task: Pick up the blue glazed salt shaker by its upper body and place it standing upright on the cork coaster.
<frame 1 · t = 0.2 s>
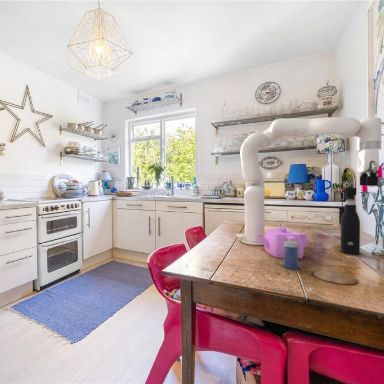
hand: (368, 185, 104), 31 cm above the table, tool pointing down, fingers open, 9 cm apart
black water bottle: (349, 253, 108), on the table
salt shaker: (290, 267, 92), on the table
teakettle: (280, 253, 109), on the table
coaster: (333, 277, 81), on the table
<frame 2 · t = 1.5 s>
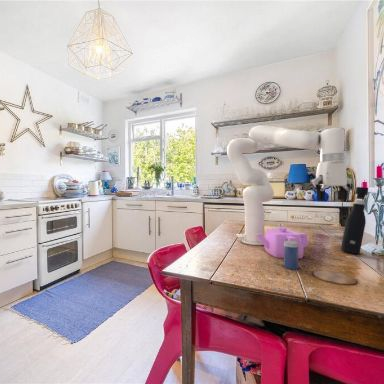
hand: (331, 200, 97), 25 cm above the table, tool pointing down, fingers open, 9 cm apart
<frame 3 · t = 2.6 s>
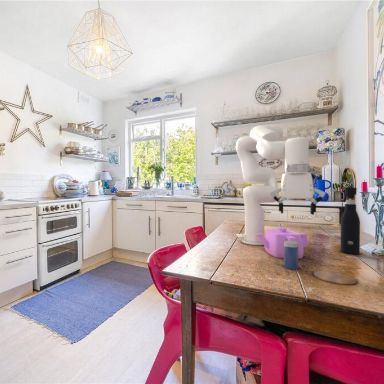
hand: (296, 213, 91), 21 cm above the table, tool pointing down, fingers open, 9 cm apart
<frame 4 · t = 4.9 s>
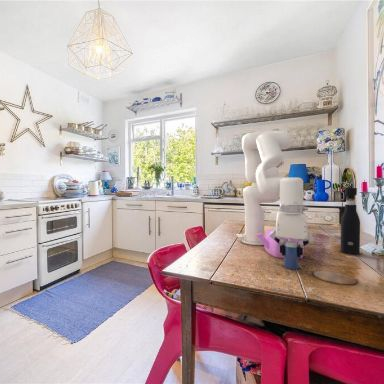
hand: (290, 255, 91), 5 cm above the table, tool pointing down, fingers closed on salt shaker, 4 cm apart
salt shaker: (290, 267, 92), on the table, touching gripper
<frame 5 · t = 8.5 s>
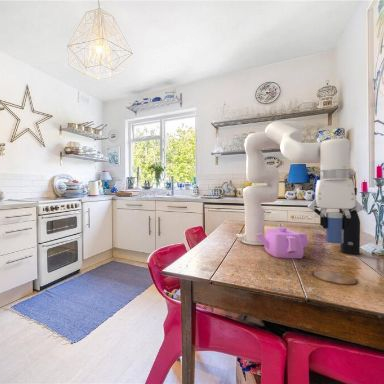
hand: (334, 228, 80), 17 cm above the table, tool pointing down, fingers closed on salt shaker, 4 cm apart
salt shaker: (334, 241, 81), point 13 cm above the table, touching gripper
everything else where it was.
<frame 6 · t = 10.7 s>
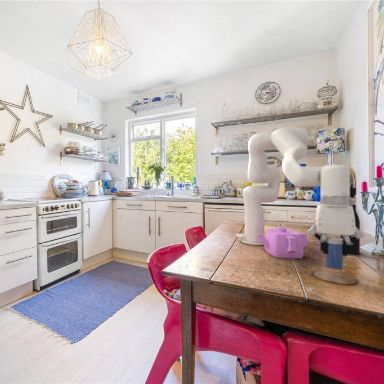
hand: (334, 253, 81), 9 cm above the table, tool pointing down, fingers closed on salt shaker, 4 cm apart
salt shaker: (334, 267, 81), point 4 cm above the table, touching gripper
everything else where it was.
when the fingers open (5 cm above the table, at t = 12.1 s): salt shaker stays where it is, resting on coaster.
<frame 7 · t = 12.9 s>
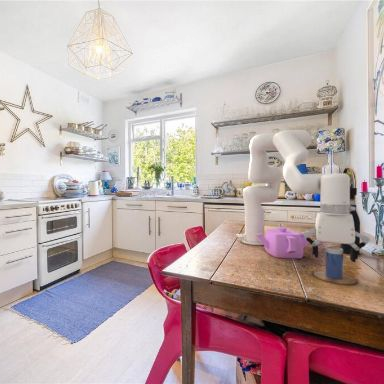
hand: (333, 258, 81), 7 cm above the table, tool pointing down, fingers open, 9 cm apart
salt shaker: (334, 276, 81), resting on coaster
everything else where it was.
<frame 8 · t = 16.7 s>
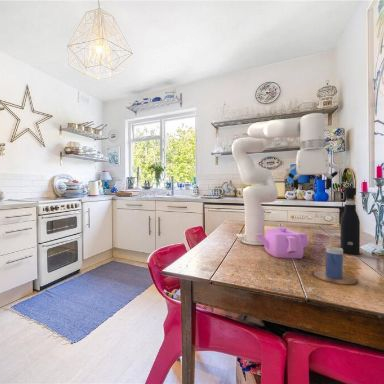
hand: (311, 189, 93), 30 cm above the table, tool pointing down, fingers open, 9 cm apart
nothing on the table moved.
at the end: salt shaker tilted 0°; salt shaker 0.1 cm off-centre on the coaster, point 0.4 cm above the coaster's base; the gripper is holding nothing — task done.
